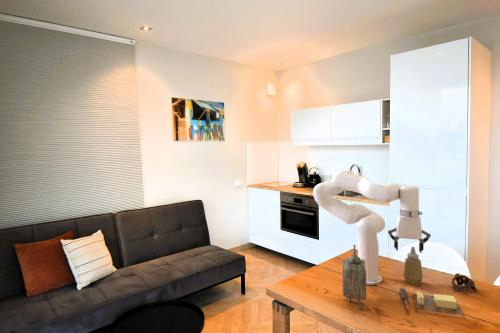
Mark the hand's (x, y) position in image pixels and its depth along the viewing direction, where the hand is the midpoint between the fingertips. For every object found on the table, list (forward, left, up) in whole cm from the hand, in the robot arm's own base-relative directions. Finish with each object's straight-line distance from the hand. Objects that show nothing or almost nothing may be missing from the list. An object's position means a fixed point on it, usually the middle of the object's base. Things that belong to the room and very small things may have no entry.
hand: (408, 250), depth 139 cm
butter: (+12, -12, -18) cm, 24 cm away
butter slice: (+3, -11, -18) cm, 21 cm away
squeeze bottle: (+3, +8, -19) cm, 21 cm away
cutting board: (+9, -12, -19) cm, 24 cm away
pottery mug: (+23, +7, -19) cm, 31 cm away
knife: (-3, -13, -19) cm, 23 cm away
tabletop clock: (-23, -18, -19) cm, 35 cm away
